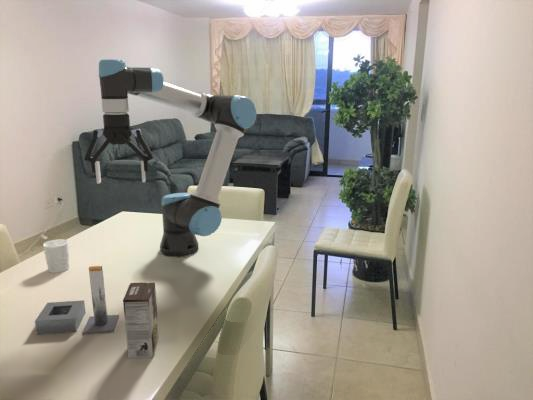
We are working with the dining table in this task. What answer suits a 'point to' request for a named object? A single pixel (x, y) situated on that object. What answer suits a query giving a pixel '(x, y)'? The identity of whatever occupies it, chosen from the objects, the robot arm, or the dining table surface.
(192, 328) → the dining table surface
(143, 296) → the coffee box
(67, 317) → the block
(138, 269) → the dining table surface
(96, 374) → the dining table surface
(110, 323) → the mat
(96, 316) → the grey long rod
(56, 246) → the white cup
